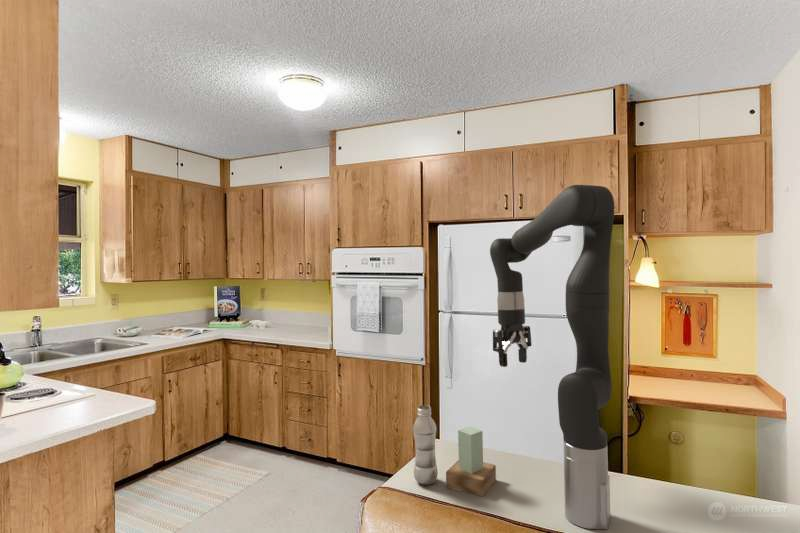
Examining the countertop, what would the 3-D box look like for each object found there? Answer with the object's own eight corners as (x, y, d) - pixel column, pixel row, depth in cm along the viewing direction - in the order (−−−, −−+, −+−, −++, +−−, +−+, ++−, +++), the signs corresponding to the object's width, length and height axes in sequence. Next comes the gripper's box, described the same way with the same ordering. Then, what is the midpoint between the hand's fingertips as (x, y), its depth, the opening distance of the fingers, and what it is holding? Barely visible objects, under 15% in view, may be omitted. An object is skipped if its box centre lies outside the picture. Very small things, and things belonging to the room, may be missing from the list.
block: (470, 462, 123) (469, 426, 123) (483, 468, 119) (482, 430, 119) (459, 467, 120) (458, 430, 120) (471, 473, 116) (470, 434, 116)
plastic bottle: (438, 476, 124) (436, 403, 124) (437, 488, 117) (436, 411, 117) (414, 475, 124) (413, 403, 125) (413, 487, 118) (411, 411, 118)
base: (495, 479, 121) (495, 464, 121) (482, 496, 113) (482, 480, 113) (461, 471, 126) (461, 457, 126) (446, 487, 118) (445, 471, 118)
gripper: (505, 309, 122) (507, 369, 122) (537, 306, 131) (539, 362, 130) (484, 309, 128) (486, 366, 128) (516, 305, 137) (518, 359, 136)
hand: (513, 364), depth 129 cm, fingers open, 8 cm apart
